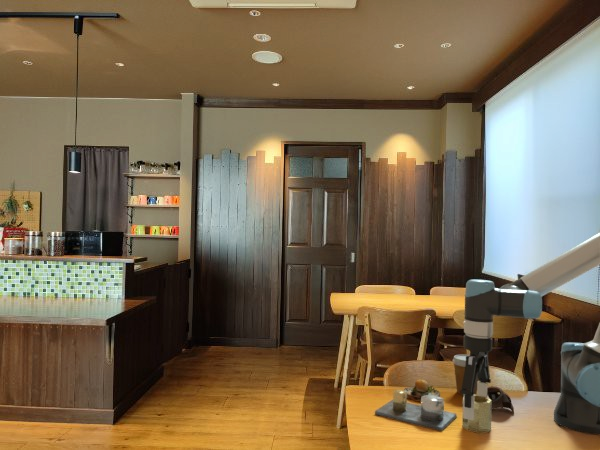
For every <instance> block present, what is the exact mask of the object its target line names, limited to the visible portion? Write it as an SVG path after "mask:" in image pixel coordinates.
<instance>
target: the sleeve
mask: <svg viewBox="0 0 600 450" xmlns="http://www.w3.org/2000/svg"><path fill="white" fill-rule="evenodd" d="M463 398H464V396H463V397H462V399H463ZM491 405H492V400H491V399H490V398H489V397H488V396H487V397H485V396H480V395H477V394H476V395H475V401H474V420H469V419H465V418H463V417H462V425H461V426H462V427H463V428H464V430H466V431H468V432H472V433H476V434H487V433H490V431H491V430H492V409H491Z"/></svg>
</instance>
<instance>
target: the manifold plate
mask: <svg viewBox="0 0 600 450" xmlns="http://www.w3.org/2000/svg"><path fill="white" fill-rule="evenodd" d="M392 397H393V398H392V400H390V401H389V402H387V403H385V404H383V405H382V406H381V407H379V408H378V409H376V410H374V415H376V416H380V417H385V418H388V419H392V420H396V421H400V422H404V423H407V424H412V425H416V426H420V427H423V428H428V429H432V430H436V431H440V432H443V431H444V430H445V429H446V428H447V427H448V426H449V425H450V424H451V423H452V422H453V421H455V419H456V418H457V413H456V412H455V413H454V412H451V411H447V410H445V399H444V398H443V397H441V396H440V397H438V396H433V395H425V396H422V397H421V402H420V404H416V403H411V402H407V401H408V400H407V399H408V398H407V392H406V391H404V389H395V390H393V392H392Z"/></svg>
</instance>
